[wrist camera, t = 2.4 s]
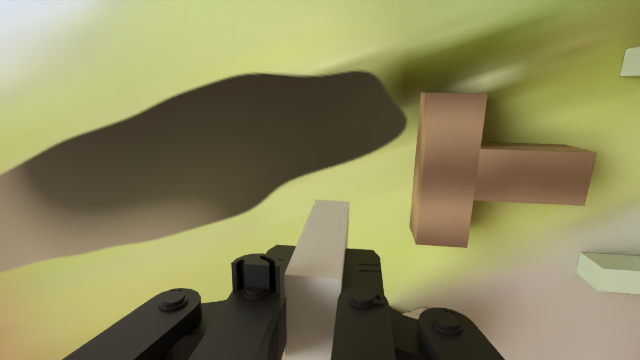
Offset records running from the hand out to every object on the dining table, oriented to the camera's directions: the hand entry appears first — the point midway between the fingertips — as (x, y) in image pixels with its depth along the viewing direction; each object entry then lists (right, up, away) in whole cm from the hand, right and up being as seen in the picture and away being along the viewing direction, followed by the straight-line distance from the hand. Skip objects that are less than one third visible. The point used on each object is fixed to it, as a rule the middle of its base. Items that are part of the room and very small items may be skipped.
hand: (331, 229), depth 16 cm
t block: (+14, +4, +14) cm, 20 cm away
